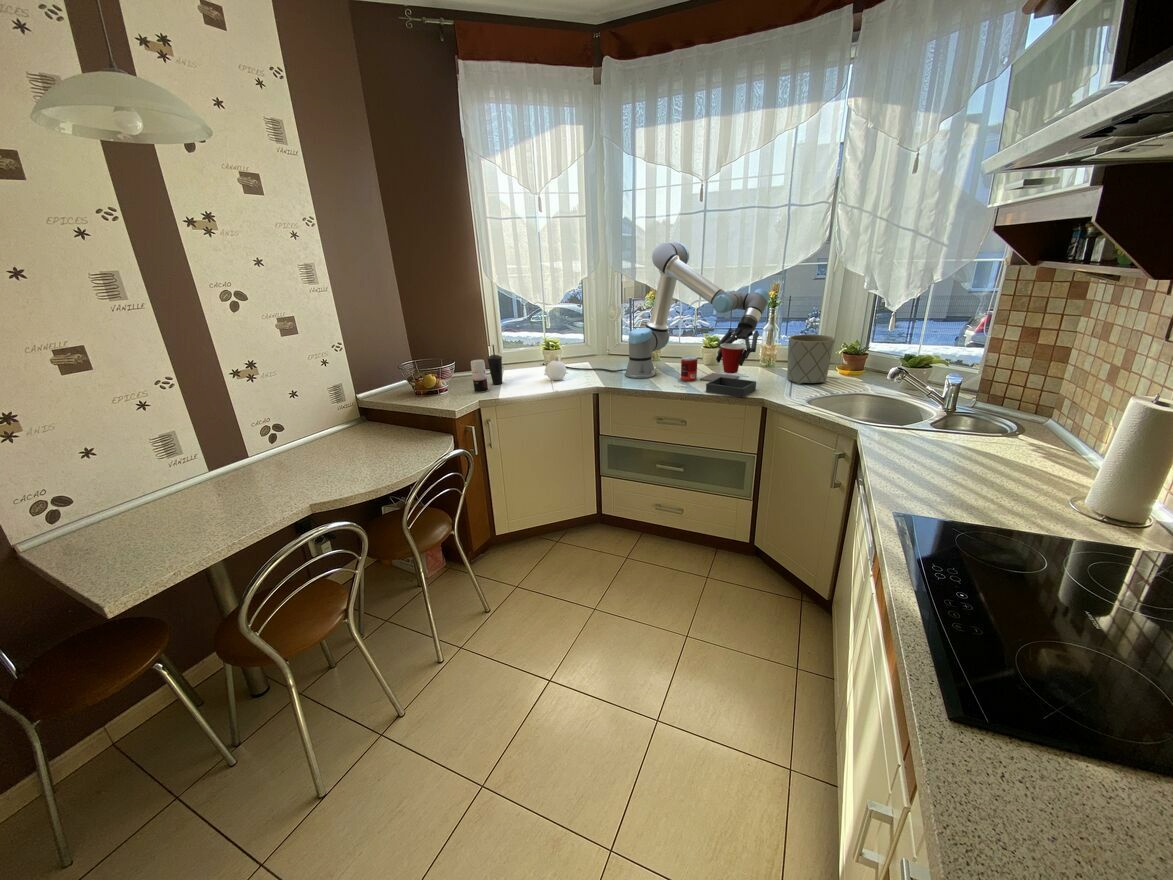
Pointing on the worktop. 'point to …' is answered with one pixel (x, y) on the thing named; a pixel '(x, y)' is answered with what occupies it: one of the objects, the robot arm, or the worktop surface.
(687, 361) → the canned food
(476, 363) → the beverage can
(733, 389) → the dark grey tray
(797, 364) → the planter
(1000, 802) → the worktop surface
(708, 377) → the grey square plate
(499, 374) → the drinking cup
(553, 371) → the ornament
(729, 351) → the plastic cup
